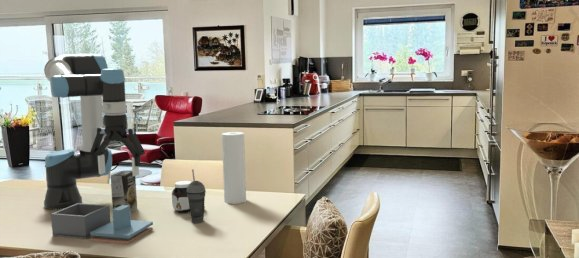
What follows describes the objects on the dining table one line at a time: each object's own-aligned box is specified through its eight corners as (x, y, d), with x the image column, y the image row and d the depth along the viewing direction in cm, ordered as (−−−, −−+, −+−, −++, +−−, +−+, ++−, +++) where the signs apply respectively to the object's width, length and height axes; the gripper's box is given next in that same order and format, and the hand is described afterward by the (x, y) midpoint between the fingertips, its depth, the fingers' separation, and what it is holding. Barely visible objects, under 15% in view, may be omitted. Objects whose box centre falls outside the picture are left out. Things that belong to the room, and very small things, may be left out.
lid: (90, 238, 177) (88, 212, 176) (116, 224, 192) (115, 200, 190) (129, 241, 173) (127, 215, 172) (153, 227, 187) (151, 203, 186)
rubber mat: (91, 240, 177) (91, 238, 177) (119, 226, 192) (119, 224, 192) (126, 243, 173) (126, 242, 173) (152, 228, 188) (152, 227, 188)
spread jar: (169, 210, 211) (168, 182, 209) (192, 204, 219) (190, 177, 218) (187, 216, 203) (185, 187, 201) (209, 209, 211) (208, 181, 210)
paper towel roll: (220, 202, 221) (217, 133, 217) (230, 197, 229) (228, 130, 226) (239, 204, 217) (237, 134, 213) (249, 198, 226) (247, 131, 222)
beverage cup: (198, 225, 191) (195, 172, 188) (183, 222, 195) (181, 170, 192) (211, 219, 197) (208, 168, 194) (196, 217, 201) (194, 166, 198)
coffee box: (127, 215, 206) (124, 175, 203) (112, 214, 207) (109, 175, 205) (138, 208, 214) (135, 170, 212) (123, 208, 216) (121, 170, 214)
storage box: (52, 235, 183) (50, 213, 181) (79, 223, 196) (77, 203, 195) (86, 238, 178) (84, 216, 177) (110, 226, 192) (109, 205, 191)
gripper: (77, 114, 177) (81, 175, 180) (140, 115, 170) (144, 178, 173) (91, 112, 184) (95, 170, 187) (153, 113, 177) (156, 173, 180)
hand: (118, 174), depth 180 cm, fingers open, 13 cm apart
